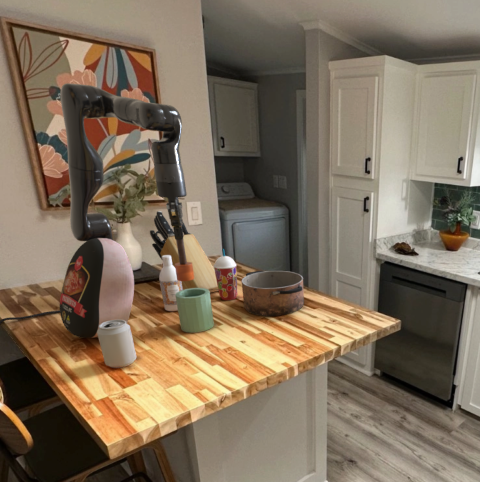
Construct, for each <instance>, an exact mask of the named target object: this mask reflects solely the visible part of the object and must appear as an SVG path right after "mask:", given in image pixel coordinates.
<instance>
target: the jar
mask: <svg viewBox="0 0 480 482" xmlns="http://www.w3.org/2000/svg"><path fill="white" fill-rule="evenodd" d="M175 296H176V302H177V308H178V311H177V314H178V319H179V325H180V329H181V331H182V332H185V333H201V332H206V331H209V330H210V329H212V328H213V327H214V326H215V321H214V313H213V307H212V306H213V305H212V299H211V292H210V291H209V290H208V289H204V288H190V289H185V290H181V291H179V292H177V293H176V295H175Z"/></svg>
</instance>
